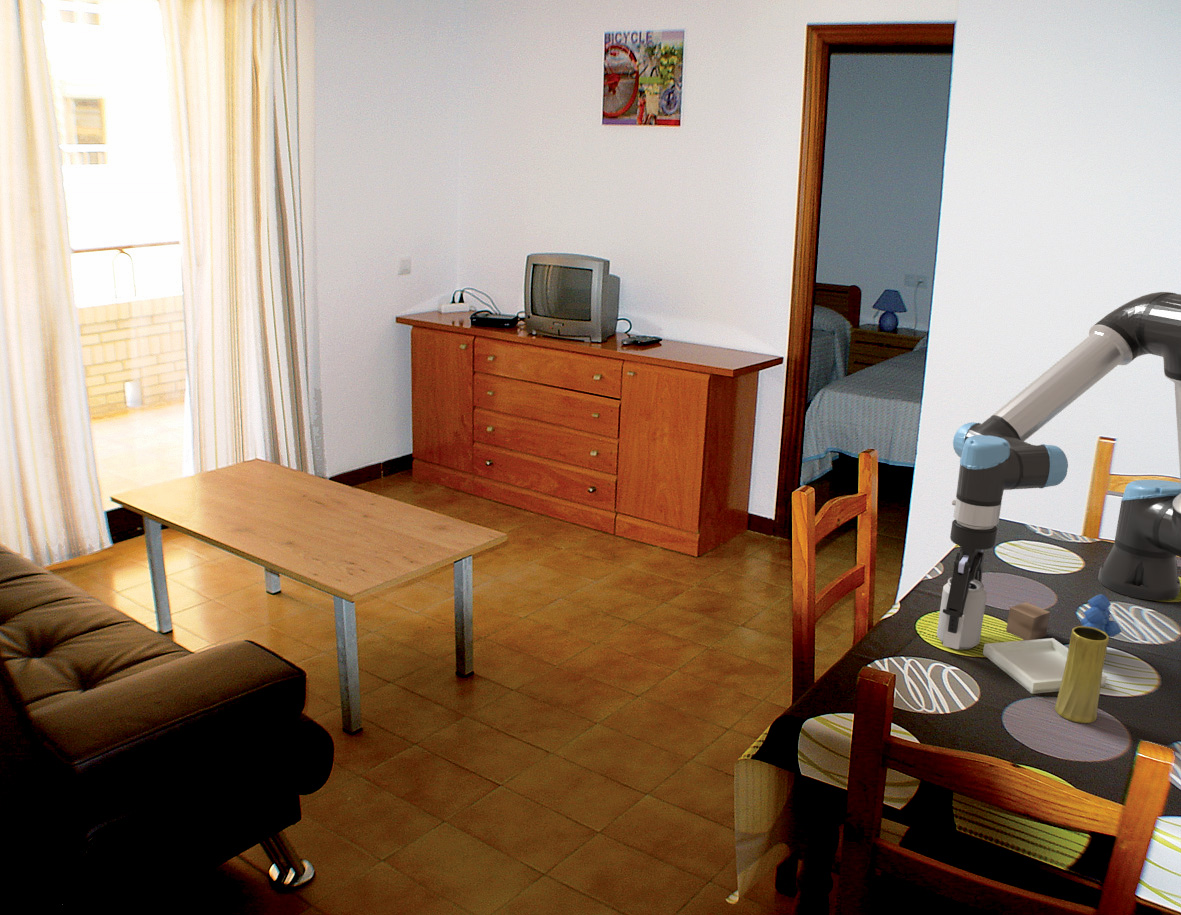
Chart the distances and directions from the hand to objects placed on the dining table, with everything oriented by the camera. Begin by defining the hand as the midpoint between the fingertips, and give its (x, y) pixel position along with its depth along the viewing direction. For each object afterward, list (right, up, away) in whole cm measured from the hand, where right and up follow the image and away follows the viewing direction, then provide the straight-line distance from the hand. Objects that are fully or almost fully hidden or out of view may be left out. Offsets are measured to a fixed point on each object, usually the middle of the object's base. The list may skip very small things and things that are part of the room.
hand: (958, 635), depth 179 cm
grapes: (+23, -3, -4) cm, 24 cm away
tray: (+11, -4, -9) cm, 15 cm away
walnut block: (+14, -1, +4) cm, 15 cm away
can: (0, -1, 0) cm, 2 cm away
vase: (+10, -9, -23) cm, 26 cm away
